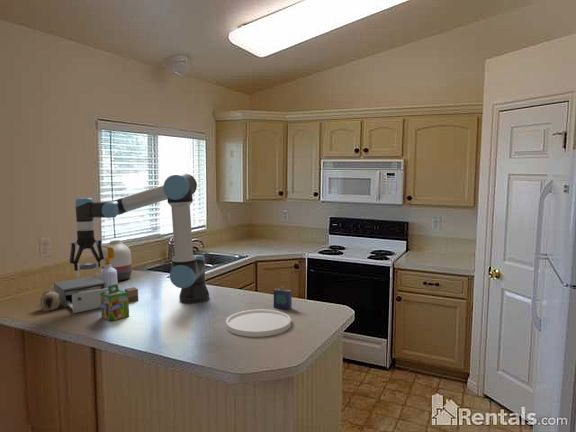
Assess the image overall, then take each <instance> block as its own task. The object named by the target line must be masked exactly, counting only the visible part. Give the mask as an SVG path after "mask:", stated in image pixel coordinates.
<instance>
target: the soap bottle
mask: <svg viewBox="0 0 576 432" xmlns="http://www.w3.org/2000/svg"><path fill="white" fill-rule="evenodd" d="M104 248H107V249H108V257H106V258H104V259H103V260H105V261H106V263H105V268H103V269H102V268H101V270H100V271H99V279H100V280H102V281H104V282H105V283H106V288H108V286H111V285H115V284H117V285H118V282H119V281H117V270H116V269H114V268H112V267H111V263H109V261H110V259H113V258H114V249H113V248H111V247H106V246H103V249H104ZM113 290H116V288H115V287H113Z"/></svg>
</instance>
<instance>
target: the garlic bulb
mask: <svg viewBox="0 0 576 432" xmlns="http://www.w3.org/2000/svg"><path fill="white" fill-rule="evenodd" d="M39 302H40V307H41V308H42V310H43V312H51V311H50V310H52V311H54V310H57V309H58V308H59V306H60V305H61V304H60V302H61V299H60V295H59V294H58V293H56V292H55V291H54V290H53V289H52V290H50V289H48V290H46V291H44V292H43V293H42V295H41V296H40V299H39Z"/></svg>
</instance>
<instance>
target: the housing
mask: <svg viewBox="0 0 576 432" xmlns="http://www.w3.org/2000/svg"><path fill="white" fill-rule="evenodd" d="M95 286H101V289H105V288H106V283H105V282H104V281H102V280H100V278H98V277H96V276H94V275H92V276H87V277H80V278H74V279H67V280H62V281H56V282H53V287H54V288H53V289H54V291H55V292H56V293H58V294H59V295H60V299H61V302H60V303H61V304H62V305H63V306H64V307H63V306H62V305H61V304H60V305H61V306H62V307H63V308H69V307H68V305H67V304H66V300H68V301H70V302H71V303H72V295H66V293H65V292H66V291H72V290H77V289H83V288H89V287H95Z"/></svg>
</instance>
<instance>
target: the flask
mask: <svg viewBox="0 0 576 432" xmlns="http://www.w3.org/2000/svg"><path fill="white" fill-rule="evenodd" d="M284 288H285V286H280V288H279V287H277V288H274V289H273V308H274V309H278V310H291V309H293V308H292V307H293V306H292V305H293V304H292V302H293V301H292V299H293V298H292V295H293V292H292V290H291V289H284Z"/></svg>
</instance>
